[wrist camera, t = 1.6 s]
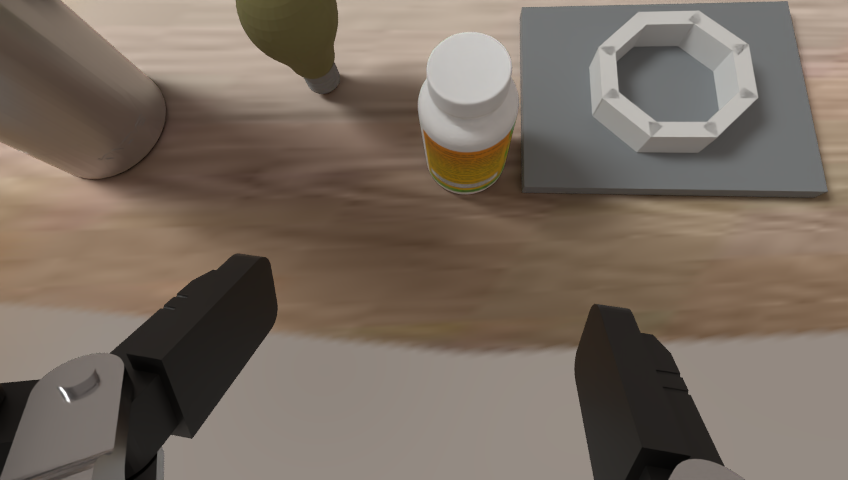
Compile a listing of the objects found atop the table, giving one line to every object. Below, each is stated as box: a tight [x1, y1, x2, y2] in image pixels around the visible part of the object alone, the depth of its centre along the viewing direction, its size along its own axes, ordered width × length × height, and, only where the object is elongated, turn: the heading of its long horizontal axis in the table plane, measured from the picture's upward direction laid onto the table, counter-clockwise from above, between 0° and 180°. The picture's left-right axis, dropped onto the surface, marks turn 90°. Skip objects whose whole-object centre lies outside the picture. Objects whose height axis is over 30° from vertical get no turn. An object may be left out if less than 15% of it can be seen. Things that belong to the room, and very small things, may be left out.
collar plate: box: [520, 1, 828, 197], centre depth 27 cm, size 18×14×3 cm
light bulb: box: [236, 0, 340, 94], centre depth 26 cm, size 6×6×10 cm
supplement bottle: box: [418, 32, 519, 194], centre depth 24 cm, size 5×5×10 cm
